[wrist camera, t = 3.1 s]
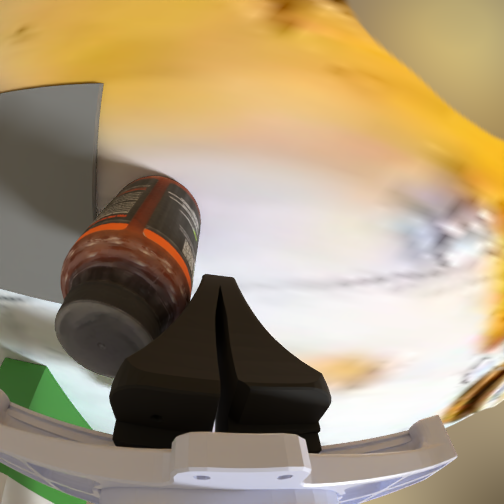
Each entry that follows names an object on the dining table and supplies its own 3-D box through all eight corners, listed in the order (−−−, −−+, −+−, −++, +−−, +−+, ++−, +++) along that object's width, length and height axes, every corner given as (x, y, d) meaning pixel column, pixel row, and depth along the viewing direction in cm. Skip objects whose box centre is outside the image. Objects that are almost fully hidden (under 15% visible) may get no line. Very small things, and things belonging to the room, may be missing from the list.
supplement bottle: (100, 220, 18) (15, 334, 9) (152, 153, 17) (62, 235, 7) (165, 271, 21) (131, 408, 11) (221, 215, 19) (220, 349, 9)
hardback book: (98, 436, 34) (80, 567, 13) (60, 427, 34) (36, 549, 13) (46, 366, 26) (-5, 547, 5) (5, 357, 25) (-51, 512, 4)
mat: (103, 307, 22) (101, 311, 21) (-20, 278, 19) (-23, 282, 19) (103, 83, 14) (99, 83, 13) (-40, 103, 12) (-45, 104, 11)
